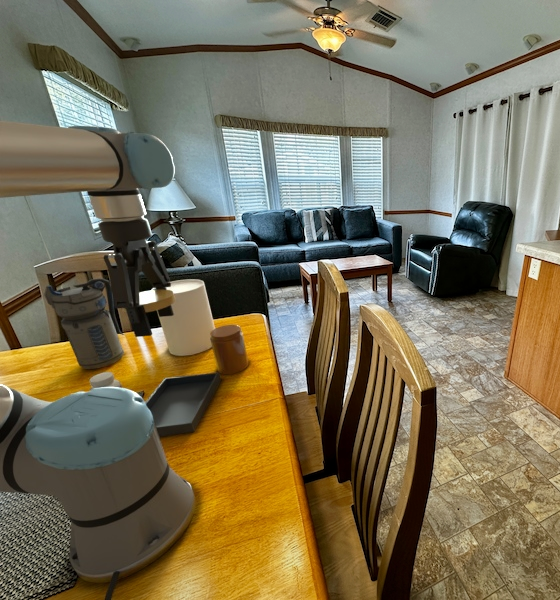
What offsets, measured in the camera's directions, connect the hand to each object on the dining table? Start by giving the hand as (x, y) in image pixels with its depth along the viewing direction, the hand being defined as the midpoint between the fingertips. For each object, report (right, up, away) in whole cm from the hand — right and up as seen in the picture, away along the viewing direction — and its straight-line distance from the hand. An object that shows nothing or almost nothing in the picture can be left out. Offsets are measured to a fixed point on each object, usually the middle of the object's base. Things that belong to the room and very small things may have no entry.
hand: (156, 324), depth 70 cm
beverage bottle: (-35, -13, +27) cm, 46 cm away
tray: (0, -20, +7) cm, 21 cm away
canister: (-14, -9, +35) cm, 39 cm away
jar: (+5, -14, +23) cm, 28 cm away
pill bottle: (-14, -21, +6) cm, 26 cm away
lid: (0, +6, -2) cm, 6 cm away
